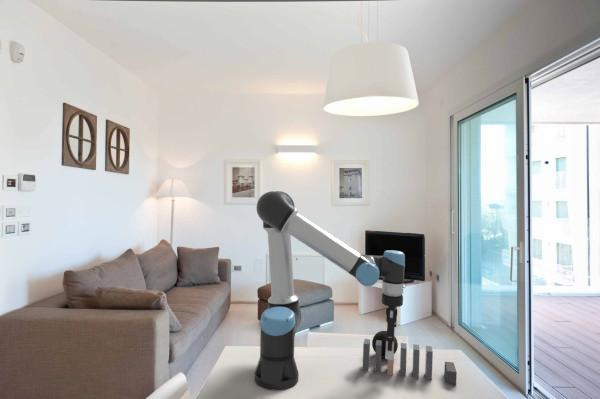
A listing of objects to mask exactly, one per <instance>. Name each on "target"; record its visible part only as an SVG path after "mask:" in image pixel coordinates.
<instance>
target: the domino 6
mask: <svg viewBox="0 0 600 399" xmlns="http://www.w3.org/2000/svg"><path fill="white" fill-rule="evenodd" d="M433 353H434V351H433V347H432V346H431V345H425V358H424V359H425V361H424V362H425V365H424V377H425V380H428V381H432V380H433V358H434V355H433Z"/></svg>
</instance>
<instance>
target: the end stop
mask: <svg viewBox="0 0 600 399" xmlns="http://www.w3.org/2000/svg"><path fill="white" fill-rule="evenodd" d="M443 371H444V373H443V374H444V378H445V381H446V385H450V386H451V385H452V386H457V369H456V366H455V363H454V362H452V361H444V370H443Z"/></svg>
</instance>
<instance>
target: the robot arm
mask: <svg viewBox="0 0 600 399" xmlns="http://www.w3.org/2000/svg"><path fill="white" fill-rule="evenodd" d="M256 213H257V215H258V218H260V220H261V221H262V227H263V228H262V229H263V230H265V231H266V232H267V243H268V256H269V257H268V259H269V275H270V277H269V278H270V290H271V291H270V292H271V294H270V295H271V296H270V297H268V298H267V309H265V310H264V311H263V312H262V313H261V316H260V320H259V322H260V326H259V327H260V337H259V338H260V340H259V341H260V342H259V343H260V344H259V345H260V346H259V351H260V353H259V359H258V362H257V364H256V368H255V371H254V383H255V384H256V385H257V386H259V387H261V388H263V389H266V390H273V391H274V390H275V391H278V390H279V391H280V390H285V389H290V388H292V387H294V386H296V385H297V384H298V382H299V374H300V373H299V370H298V369H299V368H298V367H297V362H296V359H295V335H296V332H297V330H298V328H299V326H300V324H301V321H302V311H301V308H300V303H299V301H300V300H299V296H298V295H296V293H295V286H294V271H293V270H294V268H293V255H292V254H293V253H292V239H291V236H292V237H293V238H295V239H296V240H298V241H299V242H301V243H302V244H303V245H305V246H306V247H308V248H310V249H311V250H313V251H314V252H316V253H317V254H319V255H320V256H322V257H324V258H325V259H327V260H328V261H329V262H331V263H332V264H335V265H336V266H337V267H338V268H340V269H342V270H343V271H345V272H346V273H347V274H349V275H350V276H352V277H353V278H355V279H356V280H357V281H358V283H359V284H360V285H362V286H365V287H372V286H374V285H375V284H376V283H377V282H378V281H379V279H380V278H381V277H382V282H381V285H382V286H381V292H382V294H381V304H382V305H384V306H387V307H386V308H385V310H386V311H385V315H386V318H385V320H386V323H387V324H386V325H387V326H386V331H387V338H384V341H386V353H385V357H384V358H385V360H388V359H390V360H393V354H394V336H395V330H396V328H397V316H398V309H397V308H396V307H399V308H400V307H402V306H403V305H404V304H403V303H404V289H406V285H405V284H404V283H405V268H406V263H405V262H406V258H405V257H406V255H405V253H404V252H403V251H399V250H393V249H391V250H384V251H383V252H384V253H383V255H371V254H370V255H369V254H361V253H359V252H358V251H356V250H355V249H353V248H351V247H350V246H349V245H347V244H345V242H342V241H341V240H340V239H338V238H336V237H334V236H333V235H332V234H330V233H329V232H327V231H326V230H324V229H322V228H321V227H319V226H318V225H316V224H315V223H314V222H312V221H310V220H309V219H308V218H306V217H305V216H303V215H301V214H300V213H299V212H298V209H297V208H296V207H295V202H294V200H293V198H292V197H291V196H290V194H288V193H286V192H284V191H278V190H277V191H268V192H265V193H263V194H262V195H261V196H260V197H259V198H258V200H257V203H256ZM394 355H395V354H394Z"/></svg>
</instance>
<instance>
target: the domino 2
mask: <svg viewBox="0 0 600 399" xmlns="http://www.w3.org/2000/svg"><path fill="white" fill-rule="evenodd" d="M374 353H375V355H374V356H375V358H374V359H375V360H374V362H375V363H374V373H378V374H381V373H382V372H381V371H382V358H383V357H382V341H380V340H376V352H375V351H374Z"/></svg>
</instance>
